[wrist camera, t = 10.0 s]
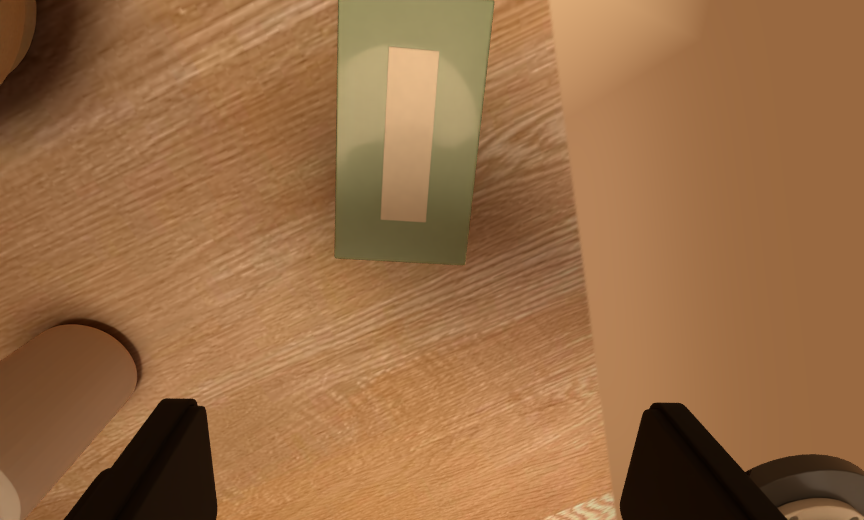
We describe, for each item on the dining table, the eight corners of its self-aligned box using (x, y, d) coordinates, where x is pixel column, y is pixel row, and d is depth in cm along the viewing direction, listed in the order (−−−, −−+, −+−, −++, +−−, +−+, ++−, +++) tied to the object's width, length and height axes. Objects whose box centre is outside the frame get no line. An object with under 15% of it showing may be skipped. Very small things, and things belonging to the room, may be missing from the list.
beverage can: (39, 306, 29) (-194, 447, 17) (150, 333, 30) (-2, 482, 19) (32, 392, 31) (-181, 569, 19) (137, 415, 32) (-8, 595, 20)
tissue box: (470, 23, 25) (495, -1, 18) (450, 225, 29) (465, 267, 22) (354, 12, 24) (337, -18, 18) (349, 219, 28) (333, 260, 21)
